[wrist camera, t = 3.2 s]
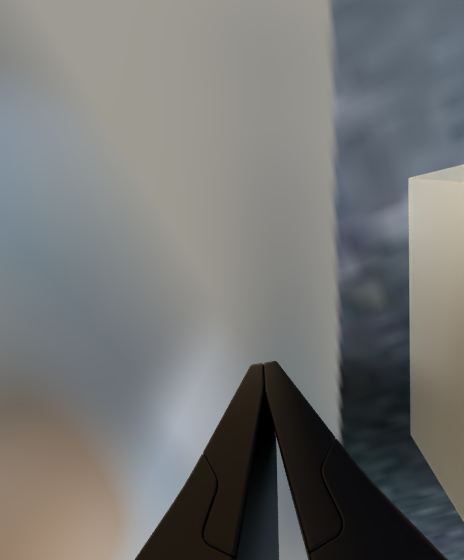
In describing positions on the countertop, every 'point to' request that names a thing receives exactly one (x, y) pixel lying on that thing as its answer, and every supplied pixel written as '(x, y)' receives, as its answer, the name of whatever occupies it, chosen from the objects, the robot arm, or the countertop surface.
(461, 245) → the book
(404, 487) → the countertop surface
